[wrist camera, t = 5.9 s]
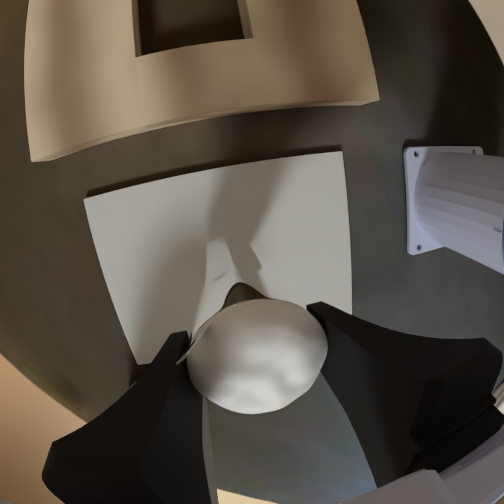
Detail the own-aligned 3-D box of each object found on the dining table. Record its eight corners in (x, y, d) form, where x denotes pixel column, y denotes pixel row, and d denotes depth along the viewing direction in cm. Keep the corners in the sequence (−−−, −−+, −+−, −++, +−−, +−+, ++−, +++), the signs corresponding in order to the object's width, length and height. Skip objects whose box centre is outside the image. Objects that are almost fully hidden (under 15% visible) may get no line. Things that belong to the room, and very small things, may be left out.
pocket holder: (317, -54, 13) (329, -70, 10) (359, 105, 17) (379, 100, 15) (46, -12, 11) (33, -26, 8) (50, 160, 15) (31, 161, 13)
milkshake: (216, 193, 15) (255, 290, 6) (286, 258, 17) (375, 385, 8) (158, 256, 16) (129, 405, 7) (230, 311, 18) (267, 460, 9)
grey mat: (339, 151, 18) (342, 151, 18) (349, 316, 22) (351, 319, 21) (85, 198, 16) (83, 199, 16) (138, 361, 20) (137, 364, 20)
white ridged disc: (512, 390, 36) (522, 399, 33) (477, 426, 37) (487, 437, 33) (515, 365, 33) (527, 375, 30) (476, 407, 33) (488, 420, 30)
